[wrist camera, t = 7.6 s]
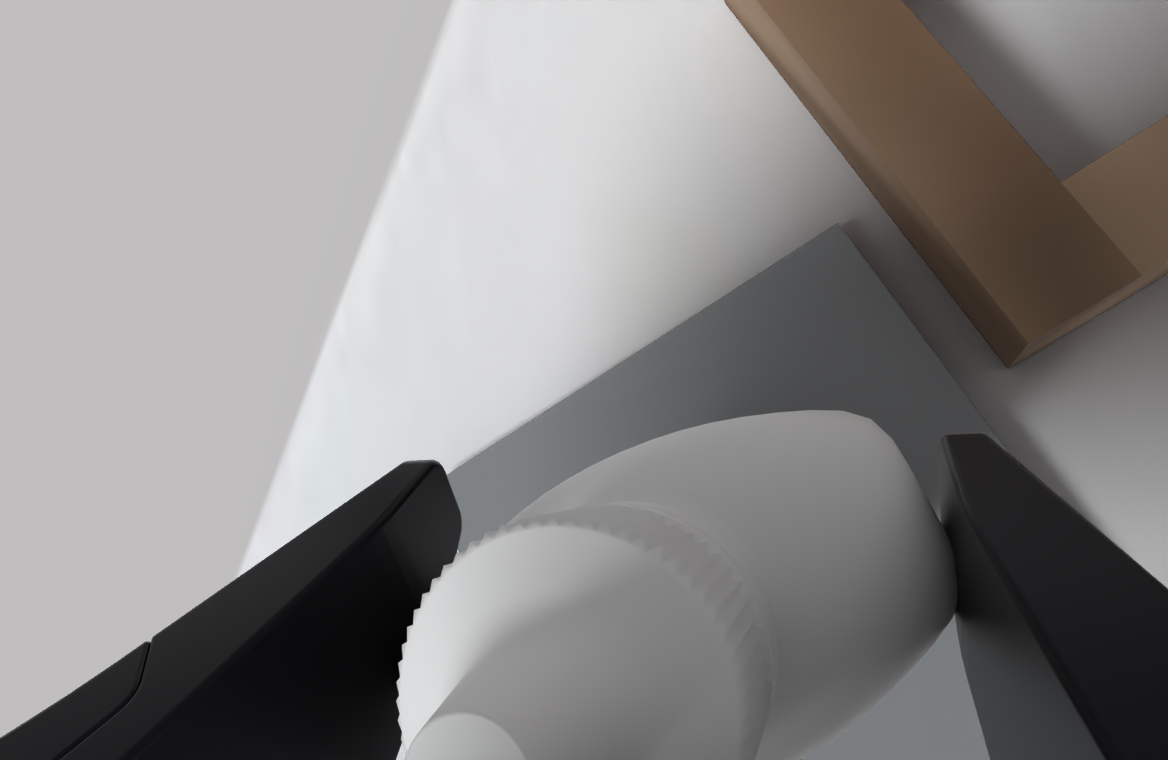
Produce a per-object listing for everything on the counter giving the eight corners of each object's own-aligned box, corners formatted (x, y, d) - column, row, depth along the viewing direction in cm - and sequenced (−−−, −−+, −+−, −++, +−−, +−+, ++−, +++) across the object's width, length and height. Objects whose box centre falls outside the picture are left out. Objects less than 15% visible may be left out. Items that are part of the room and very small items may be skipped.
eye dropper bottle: (606, 421, 16) (59, 331, 5) (915, 433, 15) (1139, 337, 3) (595, 651, 16) (-19, 1109, 5) (911, 691, 14) (1146, 1551, 3)
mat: (670, 961, 16) (662, 976, 15) (440, 488, 19) (428, 487, 18) (1182, 699, 14) (1196, 705, 13) (838, 233, 17) (837, 222, 17)
